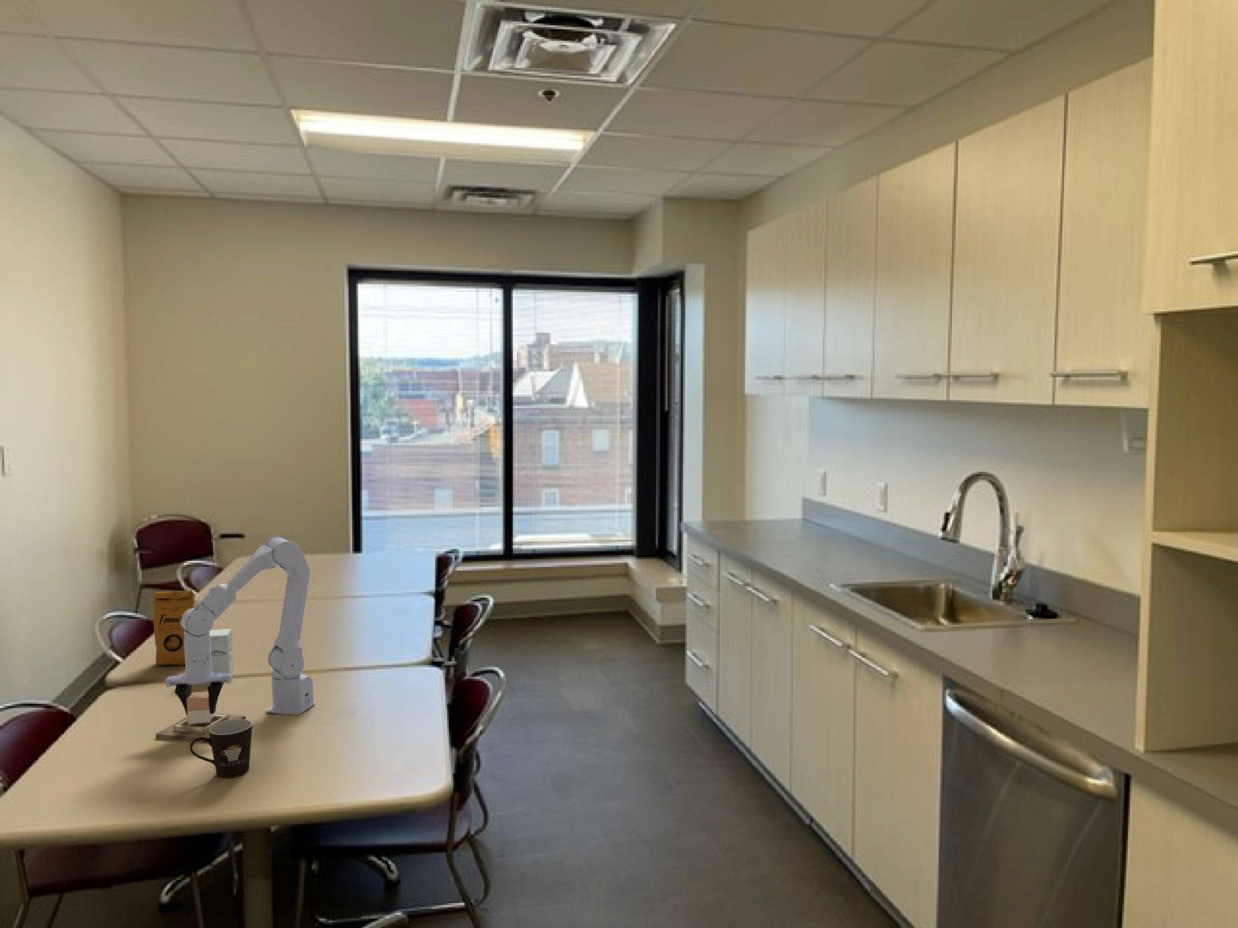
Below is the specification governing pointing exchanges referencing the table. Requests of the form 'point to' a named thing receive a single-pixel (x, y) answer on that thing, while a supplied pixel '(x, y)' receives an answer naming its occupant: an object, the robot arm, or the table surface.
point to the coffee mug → (229, 747)
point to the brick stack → (199, 708)
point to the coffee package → (170, 626)
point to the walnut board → (193, 728)
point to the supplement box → (221, 651)
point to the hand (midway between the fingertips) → (201, 713)
